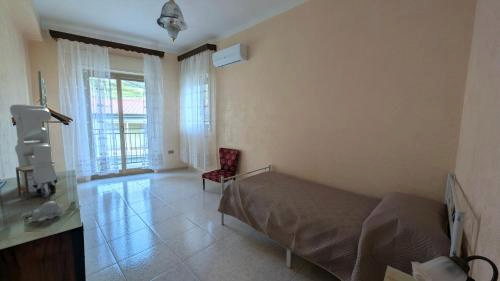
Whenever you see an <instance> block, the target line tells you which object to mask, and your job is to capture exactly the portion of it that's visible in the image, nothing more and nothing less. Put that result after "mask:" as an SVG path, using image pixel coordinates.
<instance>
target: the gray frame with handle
mask: <svg viewBox="0 0 500 281" xmlns="http://www.w3.org/2000/svg"><path fill="white" fill-rule="evenodd" d="M23 193H24V194H23V196H26V190H23ZM41 193H42V194H41V195H39V194H37V191H35V192H29V197H30V198H35V197H39V196H40V197H42V198H44V199H45V198H49V196H50V194H51V193H52V192H51V191H50V188H49V187H48V182H47V183H43V190H41Z"/></svg>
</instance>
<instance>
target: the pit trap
mask: <svg viewBox="0 0 500 281" xmlns="http://www.w3.org/2000/svg"><path fill="white" fill-rule="evenodd" d="M23 190H26V187H22V188H21V195H24V193H23ZM16 192H17V193H18V188H16Z"/></svg>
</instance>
